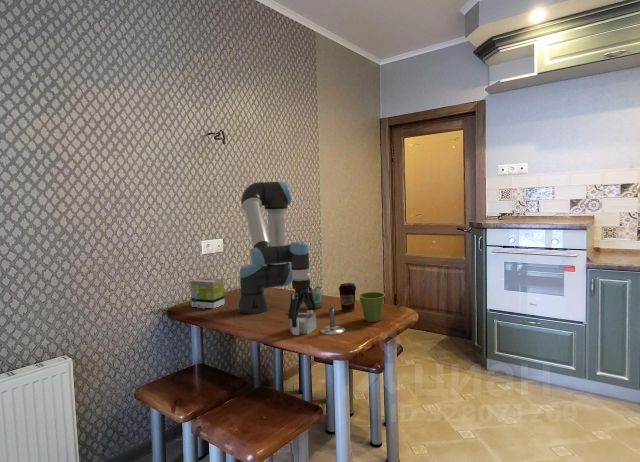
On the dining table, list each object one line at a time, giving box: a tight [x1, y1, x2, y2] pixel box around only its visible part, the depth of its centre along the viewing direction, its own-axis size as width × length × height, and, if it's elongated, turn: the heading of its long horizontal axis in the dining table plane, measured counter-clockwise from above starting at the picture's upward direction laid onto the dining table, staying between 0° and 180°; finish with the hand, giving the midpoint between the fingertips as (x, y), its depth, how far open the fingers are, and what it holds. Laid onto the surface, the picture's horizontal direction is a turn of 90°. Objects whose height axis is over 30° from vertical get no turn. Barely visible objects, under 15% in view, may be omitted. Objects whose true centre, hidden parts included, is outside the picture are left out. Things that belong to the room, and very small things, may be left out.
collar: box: [289, 312, 317, 335], centre depth 162 cm, size 8×8×6 cm
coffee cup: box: [338, 282, 357, 313], centre depth 188 cm, size 9×8×13 cm
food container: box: [305, 285, 323, 311], centre depth 195 cm, size 12×6×10 cm, turn 148°
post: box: [319, 303, 346, 336], centre depth 159 cm, size 10×10×11 cm
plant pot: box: [357, 291, 386, 323], centre depth 171 cm, size 12×12×11 cm
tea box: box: [189, 277, 226, 309], centre depth 209 cm, size 15×10×15 cm, turn 68°
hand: (303, 329), depth 162 cm, fingers open, 12 cm apart
